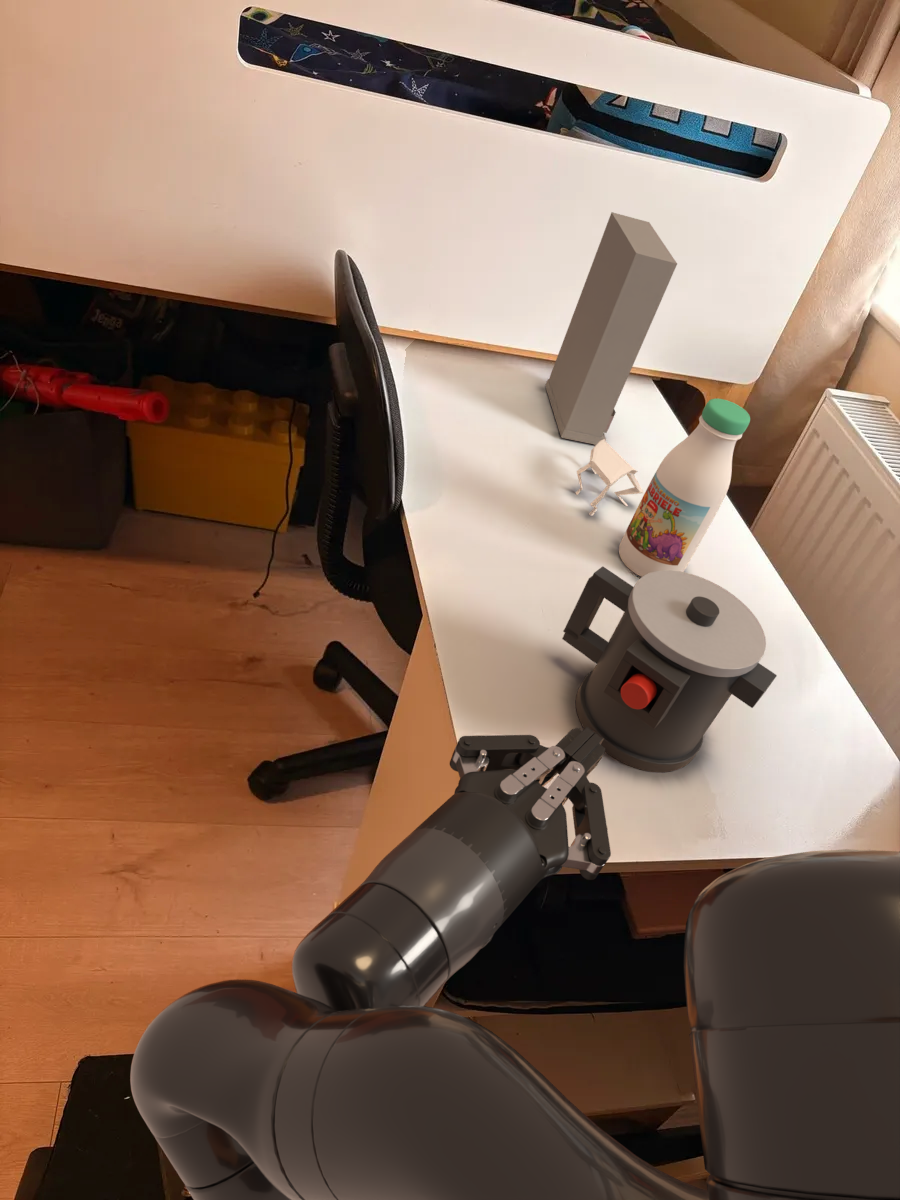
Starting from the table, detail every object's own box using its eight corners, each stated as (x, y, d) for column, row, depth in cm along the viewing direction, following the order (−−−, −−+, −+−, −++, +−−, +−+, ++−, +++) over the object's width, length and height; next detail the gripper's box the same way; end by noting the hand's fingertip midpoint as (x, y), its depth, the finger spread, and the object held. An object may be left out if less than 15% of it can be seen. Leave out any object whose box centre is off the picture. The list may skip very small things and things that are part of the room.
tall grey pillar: (603, 448, 119) (684, 266, 103) (560, 439, 117) (635, 253, 102) (584, 396, 129) (655, 223, 113) (544, 387, 128) (610, 211, 112)
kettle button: (640, 715, 70) (653, 695, 69) (615, 697, 71) (627, 676, 70) (649, 705, 72) (662, 685, 70) (625, 687, 72) (636, 667, 71)
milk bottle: (644, 534, 106) (721, 384, 93) (694, 574, 102) (781, 424, 89) (603, 549, 101) (678, 393, 88) (653, 592, 97) (739, 436, 85)
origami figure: (644, 524, 107) (661, 490, 104) (582, 518, 105) (597, 484, 101) (610, 466, 116) (624, 433, 113) (551, 460, 113) (564, 426, 110)
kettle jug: (672, 817, 74) (754, 703, 65) (510, 693, 80) (565, 573, 71) (732, 738, 83) (811, 629, 74) (583, 632, 89) (640, 519, 80)
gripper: (559, 930, 49) (690, 764, 61) (380, 777, 53) (536, 651, 65) (516, 993, 53) (646, 827, 65) (356, 847, 58) (505, 718, 70)
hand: (591, 739), depth 65 cm, fingers closed
